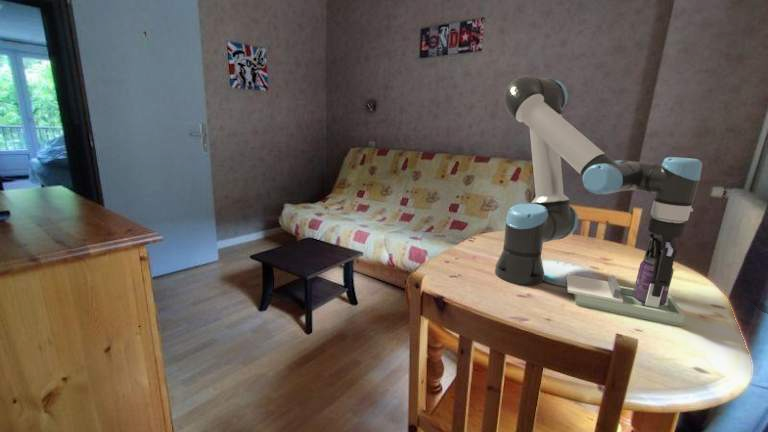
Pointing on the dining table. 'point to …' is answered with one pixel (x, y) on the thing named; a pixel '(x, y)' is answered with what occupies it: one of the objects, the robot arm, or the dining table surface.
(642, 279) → the beverage can
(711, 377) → the dining table surface
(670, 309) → the serving tray
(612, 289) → the lid
